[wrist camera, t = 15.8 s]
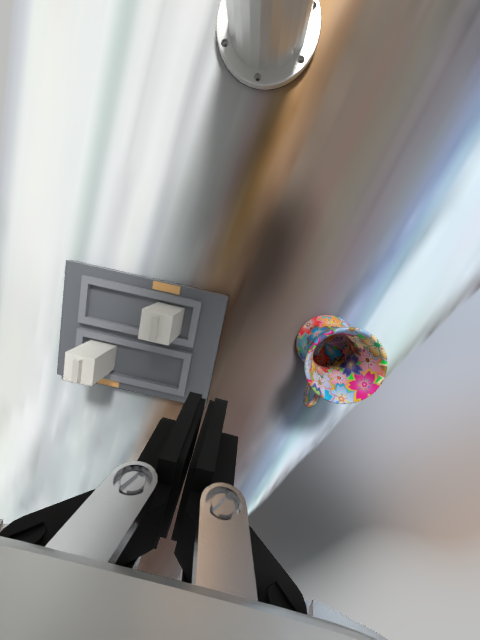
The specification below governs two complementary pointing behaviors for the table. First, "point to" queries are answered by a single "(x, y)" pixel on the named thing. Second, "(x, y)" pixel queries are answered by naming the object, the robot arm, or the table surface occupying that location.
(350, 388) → the mug
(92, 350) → the tab
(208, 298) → the switch bank
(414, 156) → the table surface
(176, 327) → the tab
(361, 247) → the table surface
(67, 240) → the table surface
